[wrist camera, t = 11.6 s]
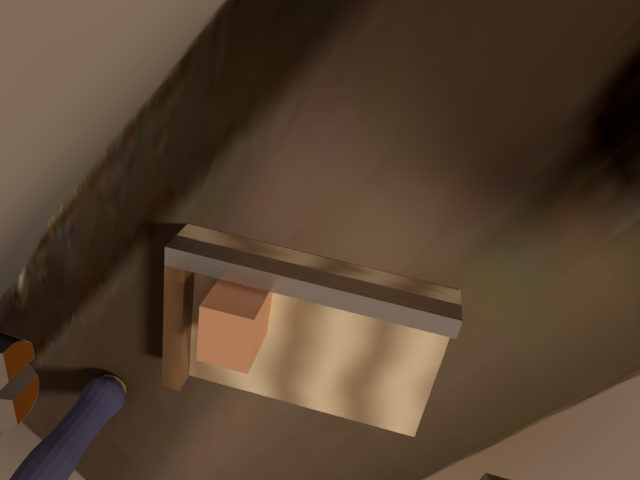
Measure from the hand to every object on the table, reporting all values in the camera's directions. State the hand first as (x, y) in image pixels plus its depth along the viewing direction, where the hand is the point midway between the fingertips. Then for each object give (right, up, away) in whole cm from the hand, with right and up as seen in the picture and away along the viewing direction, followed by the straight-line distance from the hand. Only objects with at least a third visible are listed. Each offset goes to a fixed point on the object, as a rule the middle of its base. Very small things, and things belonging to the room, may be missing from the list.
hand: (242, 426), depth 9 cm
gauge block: (-5, -2, +33) cm, 33 cm away
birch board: (0, -4, +35) cm, 35 cm away
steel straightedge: (+1, 0, +30) cm, 30 cm away
